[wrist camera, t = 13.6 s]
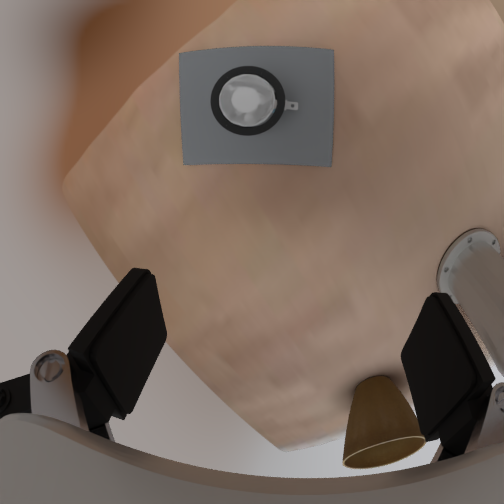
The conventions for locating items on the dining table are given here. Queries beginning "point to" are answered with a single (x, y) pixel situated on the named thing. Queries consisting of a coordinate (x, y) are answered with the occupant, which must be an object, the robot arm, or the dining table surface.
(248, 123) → the black mechanical part
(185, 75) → the mat
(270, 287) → the dining table surface
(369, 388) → the plant pot
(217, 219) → the dining table surface
